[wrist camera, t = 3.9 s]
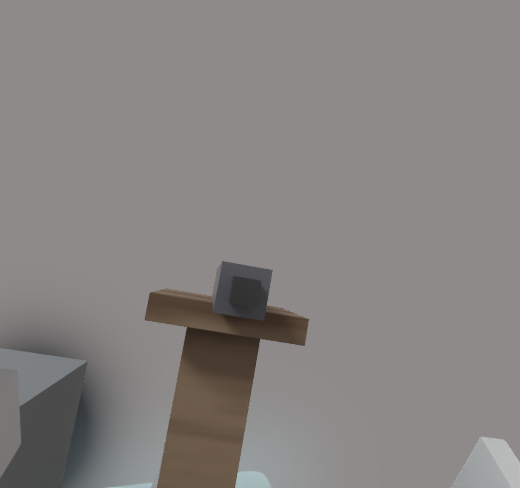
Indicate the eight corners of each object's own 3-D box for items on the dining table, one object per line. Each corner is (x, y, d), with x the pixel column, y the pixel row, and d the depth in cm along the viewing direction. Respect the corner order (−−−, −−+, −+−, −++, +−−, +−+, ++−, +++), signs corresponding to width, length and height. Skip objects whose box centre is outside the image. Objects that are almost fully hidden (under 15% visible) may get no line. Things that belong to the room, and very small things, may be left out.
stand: (236, 773, 28) (308, 319, 31) (56, 764, 27) (150, 292, 30) (229, 626, 40) (281, 308, 43) (103, 615, 39) (167, 288, 42)
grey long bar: (268, 324, 21) (277, 269, 21) (213, 315, 21) (223, 259, 21) (237, 300, 44) (242, 274, 45) (211, 295, 44) (216, 269, 44)
